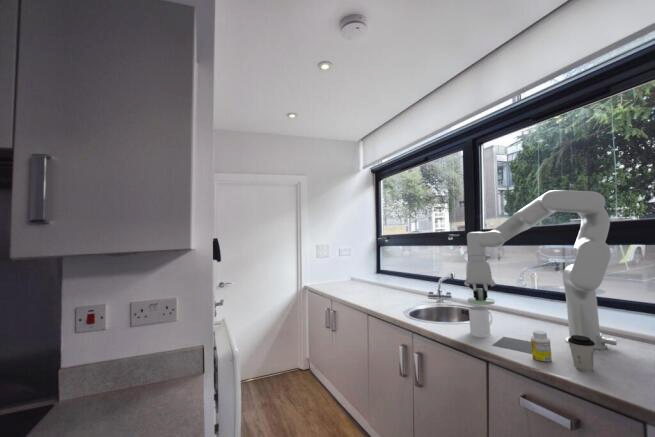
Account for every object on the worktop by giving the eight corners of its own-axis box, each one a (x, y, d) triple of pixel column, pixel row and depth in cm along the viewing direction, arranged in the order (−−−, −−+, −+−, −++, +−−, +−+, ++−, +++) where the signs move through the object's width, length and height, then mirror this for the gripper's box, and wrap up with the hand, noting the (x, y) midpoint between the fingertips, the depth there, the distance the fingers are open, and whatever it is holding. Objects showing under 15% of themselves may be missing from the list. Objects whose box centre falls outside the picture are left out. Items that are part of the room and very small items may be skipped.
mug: (487, 330, 144) (485, 304, 144) (501, 336, 136) (499, 308, 136) (465, 333, 141) (463, 307, 141) (479, 339, 132) (477, 311, 133)
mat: (542, 345, 123) (542, 343, 123) (532, 355, 113) (532, 353, 113) (503, 338, 133) (503, 336, 133) (491, 346, 123) (491, 345, 123)
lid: (498, 301, 139) (497, 288, 139) (489, 305, 131) (488, 291, 132) (473, 298, 147) (472, 286, 147) (463, 302, 139) (462, 289, 140)
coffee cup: (603, 372, 98) (600, 340, 98) (583, 374, 97) (580, 341, 98) (583, 363, 104) (580, 333, 105) (564, 365, 104) (562, 335, 105)
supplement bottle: (535, 357, 111) (532, 328, 112) (553, 361, 107) (551, 331, 108) (530, 362, 108) (528, 332, 108) (550, 366, 104) (547, 335, 104)
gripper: (495, 257, 141) (498, 298, 140) (457, 258, 146) (460, 297, 145) (499, 259, 134) (502, 301, 133) (459, 259, 139) (462, 300, 138)
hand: (480, 299), depth 139 cm, fingers closed on lid, 2 cm apart
